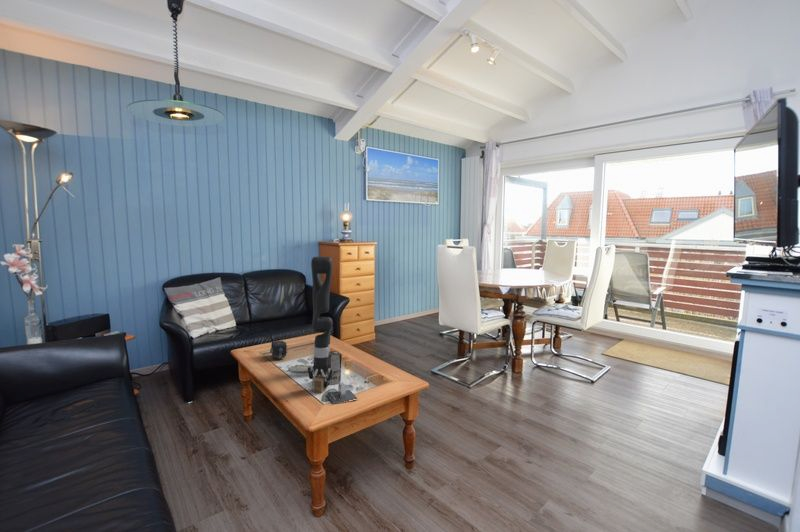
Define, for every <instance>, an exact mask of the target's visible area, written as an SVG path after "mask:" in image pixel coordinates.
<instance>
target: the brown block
mask: <svg viewBox="0 0 800 532" xmlns="http://www.w3.org/2000/svg"><path fill="white" fill-rule="evenodd" d="M327 389H328V386H327V387H326V389H324V378H323V376H322V375H320V374H319V375H316V377H314V378H313V380H312V393H319V394H320V393H321V394H323V393H324V392H325V391H326V390H327Z"/></svg>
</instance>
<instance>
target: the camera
mask: <svg viewBox="0 0 800 532" xmlns="http://www.w3.org/2000/svg"><path fill="white" fill-rule="evenodd" d="M270 344H271V345H270V346H271V348H270V349H269V352H270V354H272V357H273V358H274V359H276V358H281V359H284V358H286V356H287V354H288V351H287V341H284V340H274V341H273V340H272V341H271V343H270Z"/></svg>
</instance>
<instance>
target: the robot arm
mask: <svg viewBox="0 0 800 532" xmlns="http://www.w3.org/2000/svg"><path fill="white" fill-rule="evenodd" d="M310 264H311V265H310V266H311V277H312V278H311V279H312V321H311V328H312V330H313V332H315V333H321V334H317V335H315V337H314V349H313V365H312V366H309V367H307V373H308V378H309V380H312V381H313V378H314V377H316V375H319V374H320V375H322V376H323V378H324V389H326V387H327V388H328V386H329V383H328V381H330V380H331V379H332V375H333V371H334V369H333V368H332V369H331V368H329V366H328V358H329V352H330V351H331V332H332V328H333V325H334V321H333V319H332V318H331V317H330V316H320V315H321V314H326V313H328V312H329V311H330V293H331V286H332V275H333V259H332V258H331V257H330V256H313V257H312V258H311V261H310ZM320 274H321V275H324V274H325V278H324V281H322V280H321V278H320ZM328 370H329V377H328V376H327V371H328ZM326 390H327V389H326Z"/></svg>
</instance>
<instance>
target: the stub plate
mask: <svg viewBox="0 0 800 532" xmlns="http://www.w3.org/2000/svg"><path fill="white" fill-rule="evenodd" d="M326 396H327V398H328V400H330V402H331V403H332V404H333V405H336V403H337V404H340V403H339V402H344V401H349V400H353V399H357V400H358V397H357V396H356V395H355V394H354V393H353V392H352V391H351V390H350V389H347V386H346V384H345V383H344V382H340V383H339V384H338V390H337V391H330V392H326ZM344 403H345V402H344Z"/></svg>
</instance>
